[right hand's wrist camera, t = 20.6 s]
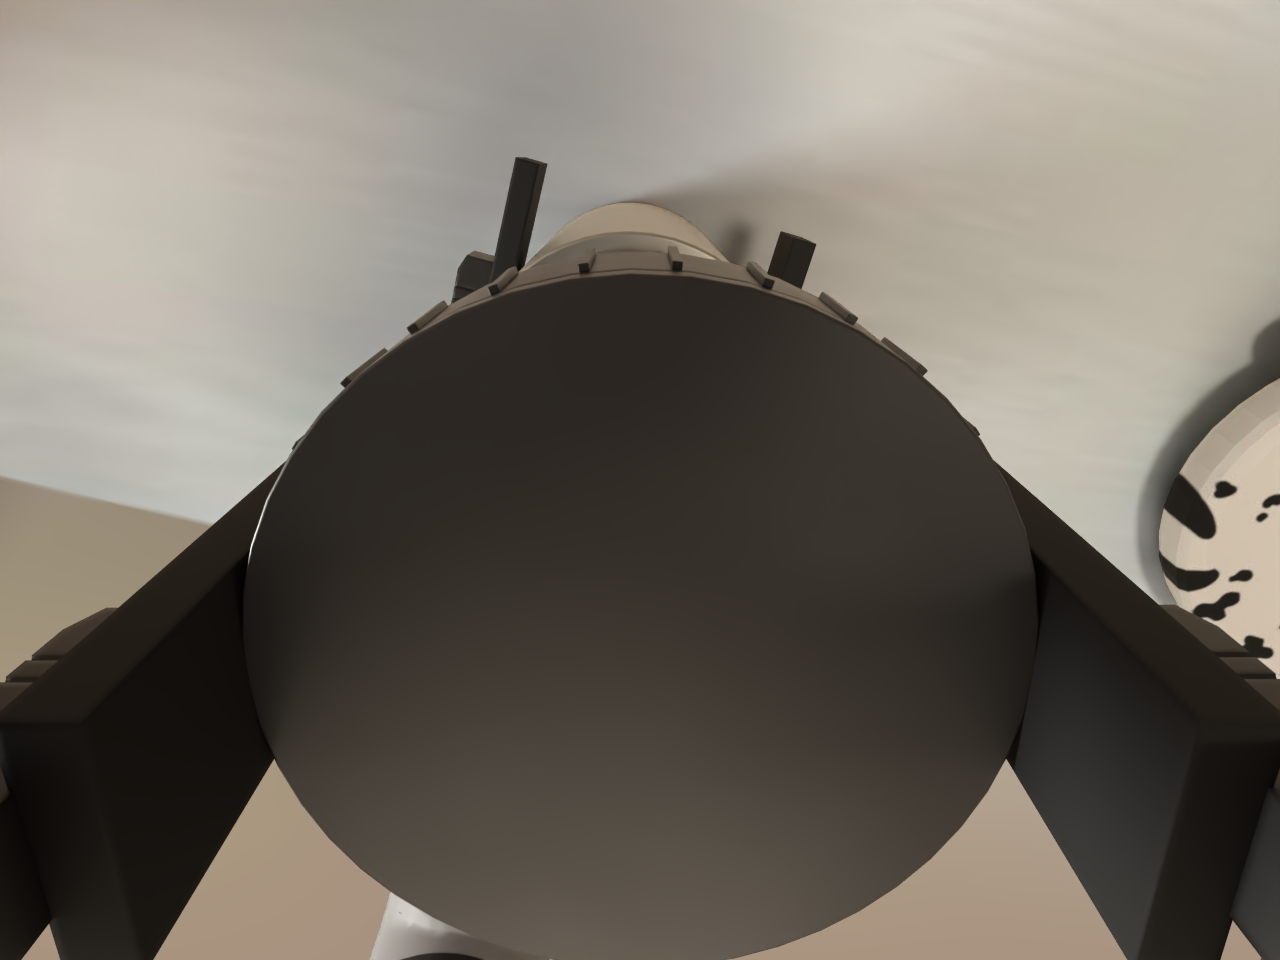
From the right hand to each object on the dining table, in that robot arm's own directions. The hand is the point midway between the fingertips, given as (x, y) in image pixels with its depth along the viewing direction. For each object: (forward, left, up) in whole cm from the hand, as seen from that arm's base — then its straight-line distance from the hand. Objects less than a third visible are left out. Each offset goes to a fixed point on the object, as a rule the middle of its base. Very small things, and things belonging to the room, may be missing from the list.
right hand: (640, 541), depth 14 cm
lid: (0, 0, +3) cm, 3 cm away
